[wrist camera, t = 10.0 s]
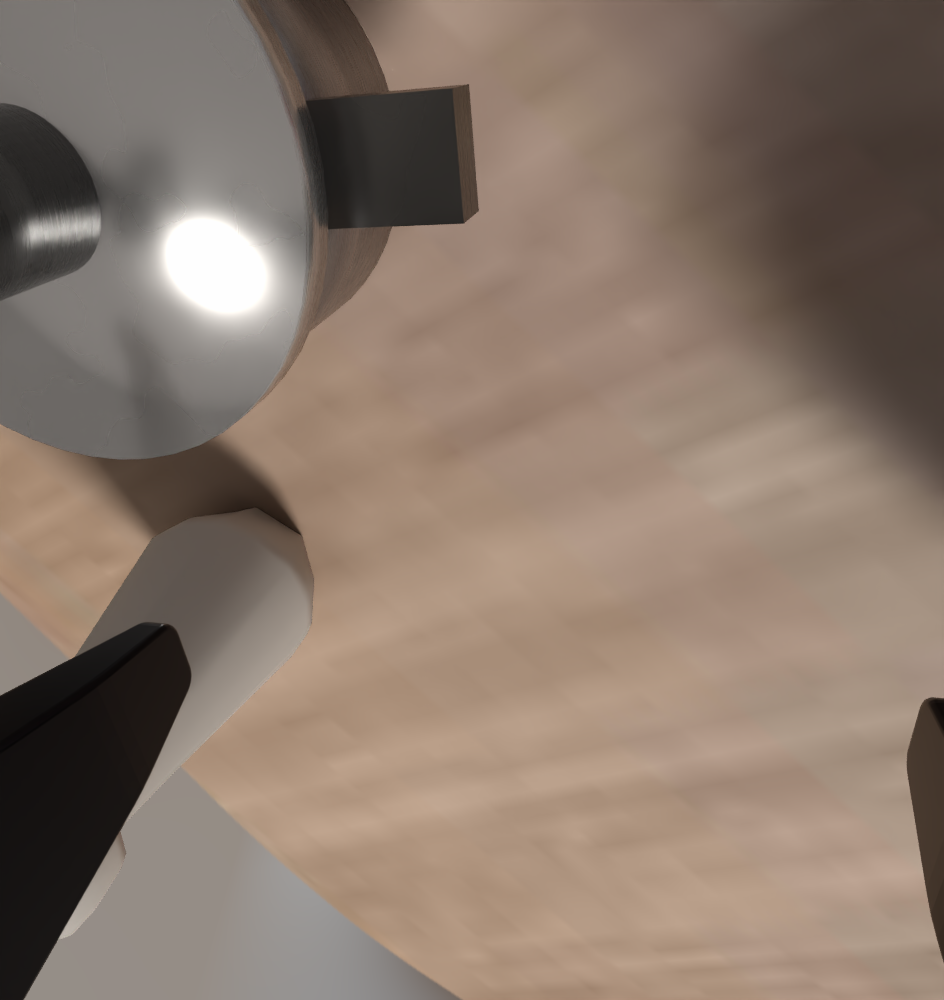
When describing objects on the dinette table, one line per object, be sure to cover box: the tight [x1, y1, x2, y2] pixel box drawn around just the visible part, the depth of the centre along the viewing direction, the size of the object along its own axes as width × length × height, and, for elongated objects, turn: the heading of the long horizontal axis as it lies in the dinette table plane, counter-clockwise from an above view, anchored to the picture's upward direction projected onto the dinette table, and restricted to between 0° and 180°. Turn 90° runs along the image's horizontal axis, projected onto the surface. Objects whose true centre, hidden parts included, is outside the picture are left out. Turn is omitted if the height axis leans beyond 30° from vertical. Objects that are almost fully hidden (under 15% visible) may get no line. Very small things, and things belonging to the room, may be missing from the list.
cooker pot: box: [258, 0, 479, 331], centre depth 17 cm, size 16×10×6 cm, turn 95°
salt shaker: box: [59, 507, 314, 939], centre depth 22 cm, size 6×6×13 cm
